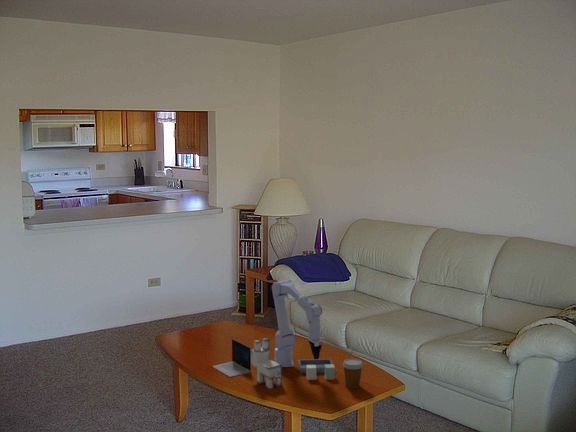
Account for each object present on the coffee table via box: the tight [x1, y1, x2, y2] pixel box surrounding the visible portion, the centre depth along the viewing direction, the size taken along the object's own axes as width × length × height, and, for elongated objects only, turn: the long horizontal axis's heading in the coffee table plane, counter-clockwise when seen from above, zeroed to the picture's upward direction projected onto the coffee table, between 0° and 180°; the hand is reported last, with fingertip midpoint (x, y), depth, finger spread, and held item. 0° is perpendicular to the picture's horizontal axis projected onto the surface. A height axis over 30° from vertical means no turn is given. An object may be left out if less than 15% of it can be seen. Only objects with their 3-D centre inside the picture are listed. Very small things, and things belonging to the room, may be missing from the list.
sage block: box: [323, 364, 336, 380], centre depth 322 cm, size 4×4×6 cm
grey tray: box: [297, 358, 333, 375], centre depth 334 cm, size 17×12×3 cm
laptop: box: [211, 338, 252, 378], centre depth 333 cm, size 18×12×13 cm
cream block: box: [305, 365, 317, 381], centre depth 322 cm, size 4×4×6 cm
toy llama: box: [251, 337, 283, 390], centre depth 315 cm, size 8×18×20 cm, turn 37°
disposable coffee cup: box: [342, 358, 364, 390], centre depth 311 cm, size 10×10×12 cm
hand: (315, 356), depth 321 cm, fingers open, 7 cm apart
